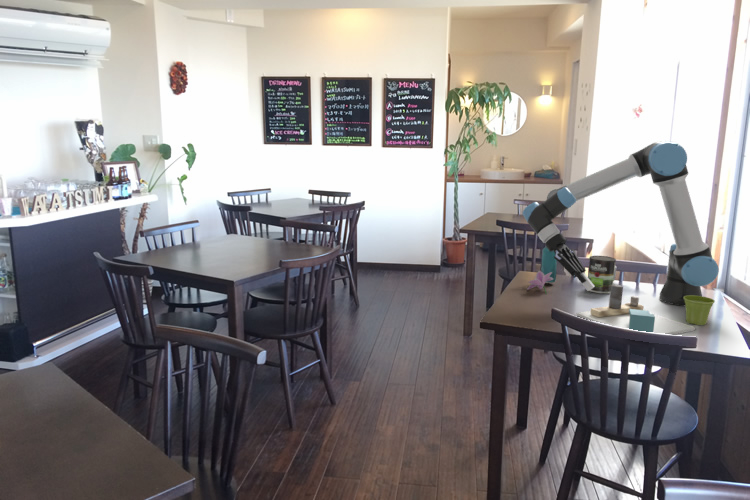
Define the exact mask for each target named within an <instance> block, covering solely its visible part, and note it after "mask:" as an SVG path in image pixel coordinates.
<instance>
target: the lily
mask: <svg viewBox="0 0 750 500" xmlns="http://www.w3.org/2000/svg"><path fill="white" fill-rule="evenodd" d="M551 274H552V272H550V273H548V274H546V275H544V274H543V273H542V272H541V270H538V271H537V272H536V274H535V279H532V280H530V281H528V282H527V283H528V284H530V285H528V287H527V289H526V291H529V290H531V289H533V288H538V289H539V290H542V289H544V291H545V295H548V294H547V291H546V288H545V284H546V283H549V282H548V281H551V280H553V278H552V277H549V276H550V275H551Z"/></svg>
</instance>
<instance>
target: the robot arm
mask: <svg viewBox="0 0 750 500" xmlns="http://www.w3.org/2000/svg"><path fill="white" fill-rule="evenodd" d="M687 161H688V154H687V152H686V150H685V148H684V147H683V146H682V145H680V144H679V143H677V142H676V141H669V140H668V141H666V140H665V141H656V142H653V143H651V144H649V145H647V146H645V147H643V148H642V149H639V150H638V151H636V152H633V153H631V154H629V156H628V158H626V159H624V160H622V161H619V162H617V163H614V164H612V165H609V166H607V167H606V168H603V169H601V170H599V171H596V172H594V173H592V174H589V175H587V176H584V177H582V178H580V179H577V180H575V181H573V182H571V183H568V184H566V185H565V186H562V187H559V188H556V189H553V190H551V191H549V193H548V194H547V197H546V200H545V201H544V200H543V202H542V203H538V202H537V201H533V202H532V203H530V204H528V205H527V206H525V207H524V209H522V212H521V213H522V216H523V218H524V219H525V221H526V222H527V224H528V225H529V226H530V228H531V229H532V231H534V233H535V234H536V235H537V237H539V240H541V242H542V243H543V244H544V246H545V247H547V248H548V250H549V251H550V252H552V251H554V253H555V254H556V256H554V258H555V259H556V260H557V262H559V264H560V265H561V266H562V267H563V268H564V269H565V270H566V271H567V272H568V273H569V275H571V276H572V277H573V278H574V279H575V278H577V280H578V281H579V282H580V284H582V286H583V287H584V289H585V290H586V291H587V292H590V291H589V290H591V289H592V288H594V287H595V286H594V285H593V283H592V282H591V281H590V279H589V278H588V275H587V274H586V273H585V272H586V271H587V270H586V268H585V267H584V265H583V263H582V261H581V260H580V258H579V257H578V255H577V254H576V251H575V249H573V248H572V249H571V248H569V246H568V245H566V243H567V239H566V237H565V236H564V235H563V233H561V230H560V229H559V228H558V226H556V224H555V223H554V222H553V220H554V219H555V218H557V217H558V216H559V215H561V214H562V213H564V212H565V211H567V210H568V209H569V208H571V207H572V206H573V205H574V204H575V203H576V202H578V201H580V200H582V199H585V198H588V197H590V196H592V195H594V194H597V193H599V192H603V191H604V190H607V189H609V188H611V187H614V186H616V185H618V184H621V183H623V182H625V181H628V180H632V179H633V178H636V177H637V178H643V177H644V176H647V175H650V176H651V177H650V178H651V180H652V184H653V185H656V186H658V188H659V191H660V194H661V198H662V201H663V206H664V208H665V212H666V215H667V219H668V222H669V223H668V224H669V226H670V229H671V233H672V236H673V240H674V243H672V244H671V245H670V248H669V251H668V253H669V255H668V262H667V263H668V265H667V272H666V280H665V282H664V284H663V286H662V289H661V290H660V292H659V298H658V299H659V300H660V301H662V302H665V303H667V304H671V305H676V306H682V307H686V304H685V299H684V298H683V297H684V296H688V295H694V296H703V292H702V289H701V287H704V286H709V285H710V284H712V283H713V282H714V281H715V280H716V279H717V278H718V276H719V272H720V271H719V270H720V269H719V265H718V263H717V261H716V260H715V259H714V258H713V255H712V253H711V249H710V246H709V244H708V243H706V242H704V240H703V238H702V234H701V231H700V227H699V224H698V220H697V217H696V214H695V210H694V206H693V203H692V199H691V196H690V192H689V188H688V184H687V181H686V179H687V176H688V175H689V171H688V166H687V163H688V162H687Z"/></svg>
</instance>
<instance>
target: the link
mask: <svg viewBox="0 0 750 500" xmlns="http://www.w3.org/2000/svg"><path fill="white" fill-rule="evenodd" d="M623 291H624V286H623V285H621V284H620V285H619V284H613V285H611V290H610V293H609V302H608V305H607V306H599V307H593V308H590V311H591V313H590V314H592V315H594V316H597V317H604V316H612V315H620V314H627V313H629V309H636V310H644V305H643V304H640V303H639V299H640V298H639V296H634V295H633V296H630V301H629V302H626V303H624V304H622V301H623Z"/></svg>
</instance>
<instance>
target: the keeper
mask: <svg viewBox="0 0 750 500" xmlns="http://www.w3.org/2000/svg"><path fill="white" fill-rule="evenodd" d="M650 313H651V312H650V311H649V310H645V309H643V310H636V309H629V314H630V320H629V329H633V330H638V331H646V332H653V330H654V322H655V316H654V314H655V313H652V314H650Z"/></svg>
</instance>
